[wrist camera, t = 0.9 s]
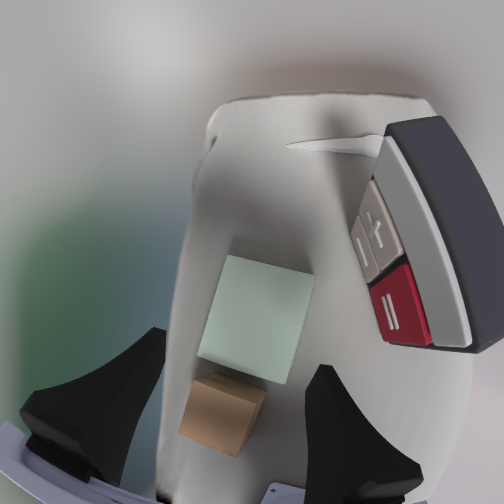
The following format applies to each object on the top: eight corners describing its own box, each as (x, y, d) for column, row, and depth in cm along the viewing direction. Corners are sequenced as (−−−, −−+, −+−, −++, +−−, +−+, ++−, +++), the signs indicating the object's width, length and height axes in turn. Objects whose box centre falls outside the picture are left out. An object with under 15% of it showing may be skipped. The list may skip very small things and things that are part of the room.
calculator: (345, 231, 25) (372, 122, 11) (386, 219, 25) (441, 111, 10) (380, 347, 22) (466, 364, 8) (422, 330, 21) (532, 320, 7)
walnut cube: (250, 436, 22) (236, 457, 17) (201, 417, 23) (178, 432, 18) (267, 390, 23) (256, 404, 18) (215, 372, 24) (193, 380, 19)
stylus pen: (416, 145, 26) (420, 136, 24) (420, 165, 25) (424, 156, 24) (287, 141, 30) (284, 131, 28) (286, 160, 29) (283, 150, 28)
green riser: (288, 378, 23) (284, 384, 20) (209, 353, 25) (196, 355, 22) (315, 281, 25) (315, 275, 22) (236, 262, 27) (227, 254, 24)
